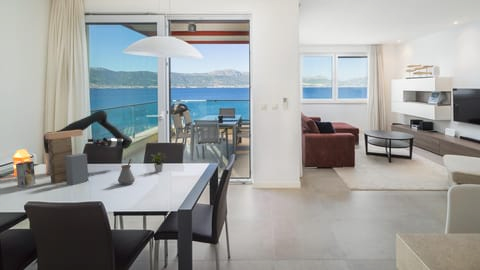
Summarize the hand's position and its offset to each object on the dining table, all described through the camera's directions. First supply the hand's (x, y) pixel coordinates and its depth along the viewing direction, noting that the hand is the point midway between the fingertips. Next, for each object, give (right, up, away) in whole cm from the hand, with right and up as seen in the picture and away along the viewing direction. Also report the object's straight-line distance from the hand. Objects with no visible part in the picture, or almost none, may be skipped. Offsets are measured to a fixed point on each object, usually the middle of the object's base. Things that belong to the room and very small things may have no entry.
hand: (90, 141), depth 266 cm
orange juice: (-57, -26, +7) cm, 63 cm away
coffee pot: (+35, -29, -19) cm, 49 cm away
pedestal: (-1, -29, -20) cm, 35 cm away
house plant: (+49, -25, +12) cm, 56 cm away
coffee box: (-34, -30, -25) cm, 52 cm away
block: (-12, +4, -16) cm, 20 cm away
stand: (-14, -28, -15) cm, 35 cm away
